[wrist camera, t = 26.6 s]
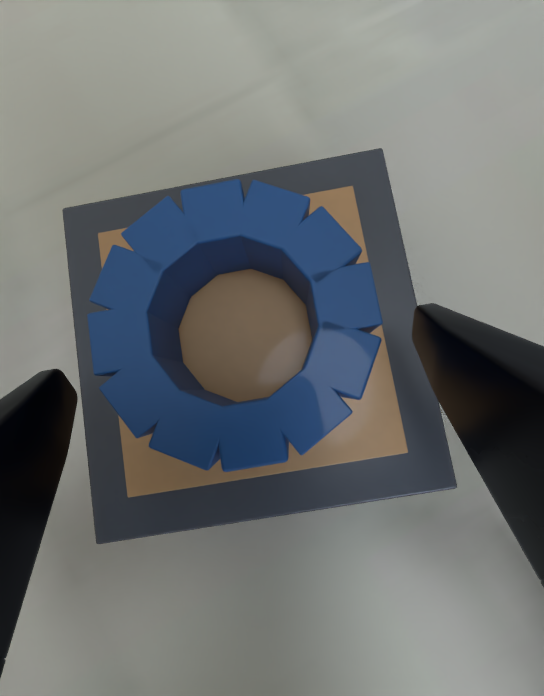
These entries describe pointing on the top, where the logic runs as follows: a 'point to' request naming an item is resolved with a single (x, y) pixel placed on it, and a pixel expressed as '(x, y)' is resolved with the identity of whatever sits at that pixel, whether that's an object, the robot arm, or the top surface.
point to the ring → (194, 273)
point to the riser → (264, 372)
